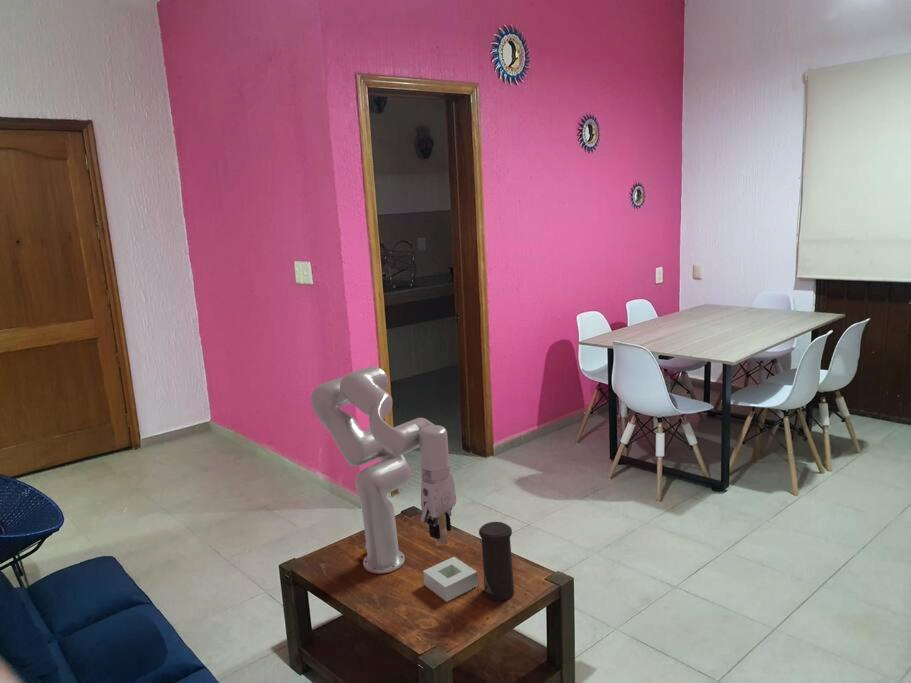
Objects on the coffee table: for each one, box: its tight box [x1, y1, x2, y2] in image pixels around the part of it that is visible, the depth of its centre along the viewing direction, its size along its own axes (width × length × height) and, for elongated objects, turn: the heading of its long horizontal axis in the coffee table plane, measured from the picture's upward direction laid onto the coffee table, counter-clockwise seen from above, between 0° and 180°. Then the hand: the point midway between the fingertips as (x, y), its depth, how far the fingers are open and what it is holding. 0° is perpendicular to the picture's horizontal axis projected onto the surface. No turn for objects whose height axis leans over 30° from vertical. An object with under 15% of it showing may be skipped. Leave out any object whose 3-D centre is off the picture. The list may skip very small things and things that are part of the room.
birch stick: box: [432, 513, 449, 547], centre depth 186 cm, size 3×3×9 cm
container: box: [478, 521, 515, 602], centre depth 187 cm, size 9×9×20 cm
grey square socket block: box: [422, 556, 479, 603], centre depth 194 cm, size 11×11×4 cm
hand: (440, 532), depth 186 cm, fingers closed on birch stick, 4 cm apart
